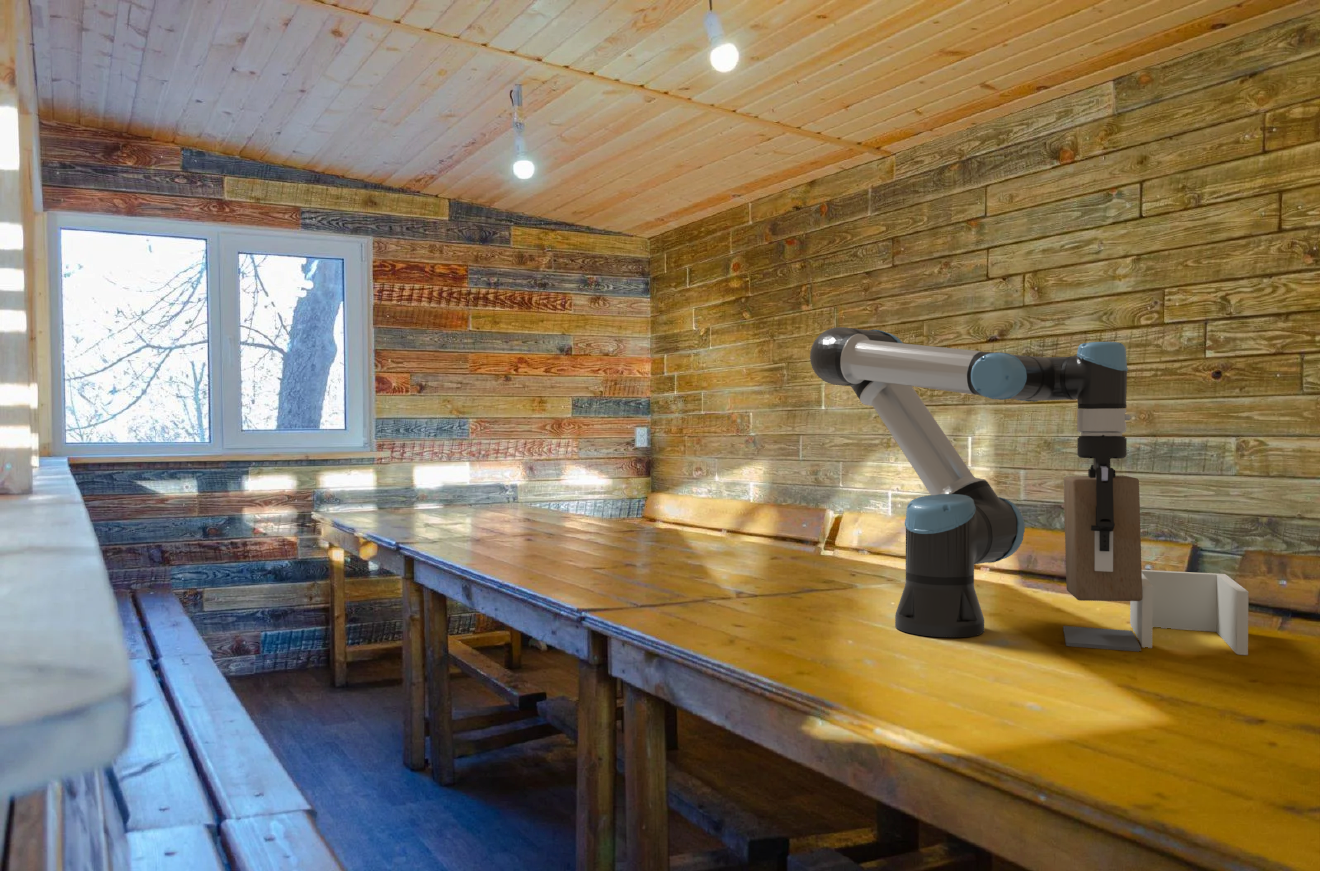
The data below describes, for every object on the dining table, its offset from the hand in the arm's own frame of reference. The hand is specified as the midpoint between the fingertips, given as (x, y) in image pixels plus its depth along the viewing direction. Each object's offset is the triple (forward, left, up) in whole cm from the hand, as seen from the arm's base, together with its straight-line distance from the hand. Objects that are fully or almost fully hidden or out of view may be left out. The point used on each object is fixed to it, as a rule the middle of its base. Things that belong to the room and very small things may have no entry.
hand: (1101, 566), depth 164 cm
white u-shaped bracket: (+13, +6, -12) cm, 19 cm away
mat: (0, 0, -12) cm, 12 cm away
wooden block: (0, 0, -5) cm, 5 cm away
